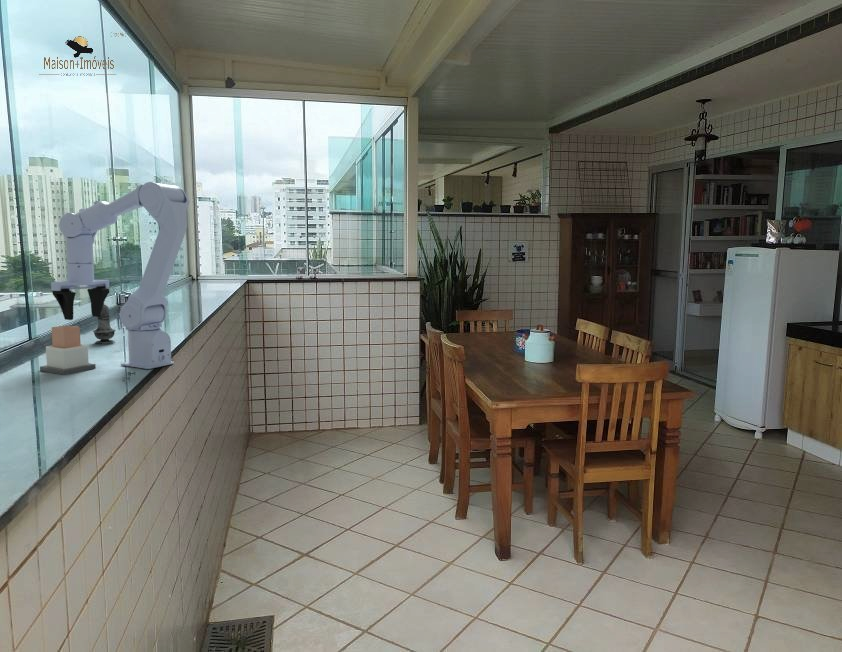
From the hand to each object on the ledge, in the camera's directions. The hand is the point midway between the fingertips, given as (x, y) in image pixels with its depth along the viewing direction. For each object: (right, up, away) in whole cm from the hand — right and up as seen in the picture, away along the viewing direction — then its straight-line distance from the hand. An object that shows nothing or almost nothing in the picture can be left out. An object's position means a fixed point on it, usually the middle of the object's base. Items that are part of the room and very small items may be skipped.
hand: (82, 318), depth 153 cm
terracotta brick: (+3, -7, -11) cm, 14 cm away
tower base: (+2, -12, -11) cm, 16 cm away
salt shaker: (-8, -7, +25) cm, 27 cm away
